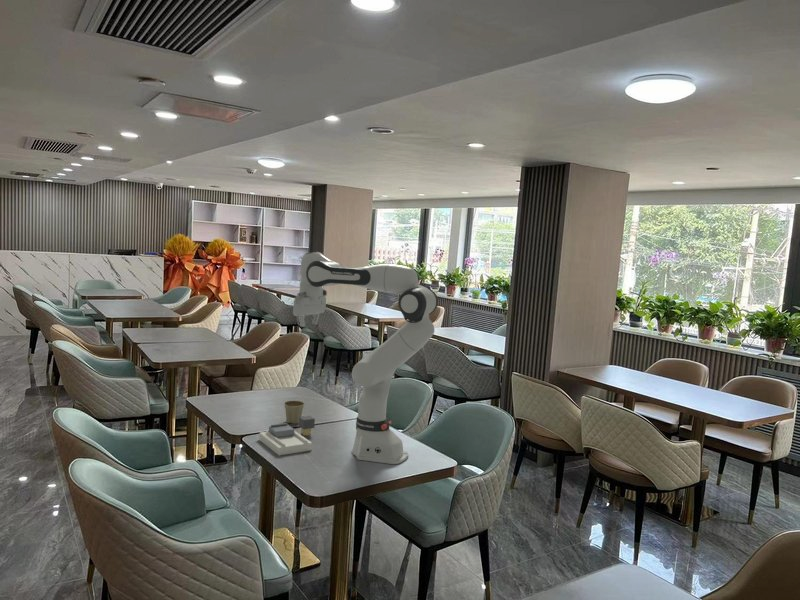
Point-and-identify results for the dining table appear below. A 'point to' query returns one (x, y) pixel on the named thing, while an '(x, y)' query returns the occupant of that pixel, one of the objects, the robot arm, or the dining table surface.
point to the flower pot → (293, 411)
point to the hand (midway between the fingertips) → (308, 325)
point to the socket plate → (285, 443)
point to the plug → (306, 424)
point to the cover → (281, 430)
